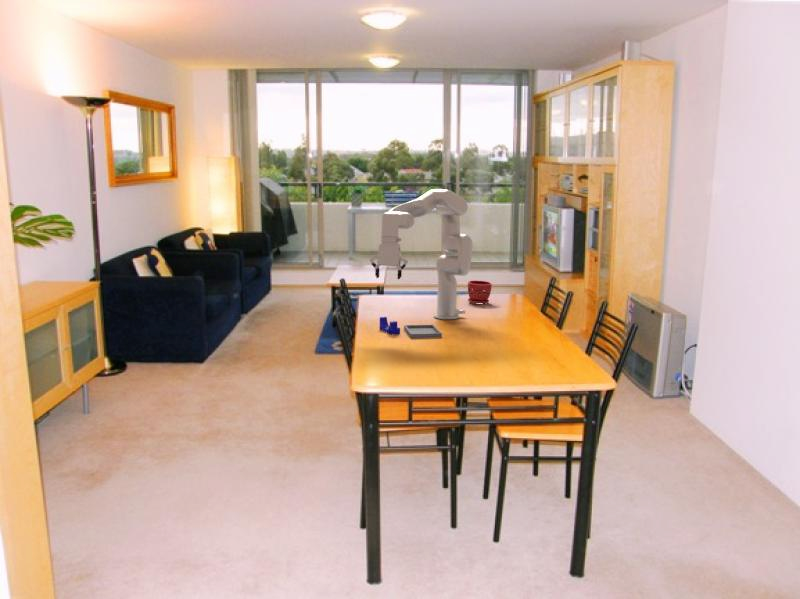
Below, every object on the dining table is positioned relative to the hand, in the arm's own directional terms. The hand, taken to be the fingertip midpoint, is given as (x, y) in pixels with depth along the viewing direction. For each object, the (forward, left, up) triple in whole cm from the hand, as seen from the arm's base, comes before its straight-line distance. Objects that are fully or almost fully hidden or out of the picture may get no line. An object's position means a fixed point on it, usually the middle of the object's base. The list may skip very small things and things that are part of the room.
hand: (388, 278), depth 325 cm
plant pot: (-61, -66, -25) cm, 93 cm away
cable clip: (-1, 0, -25) cm, 25 cm away
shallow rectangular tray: (-15, +4, -25) cm, 30 cm away
